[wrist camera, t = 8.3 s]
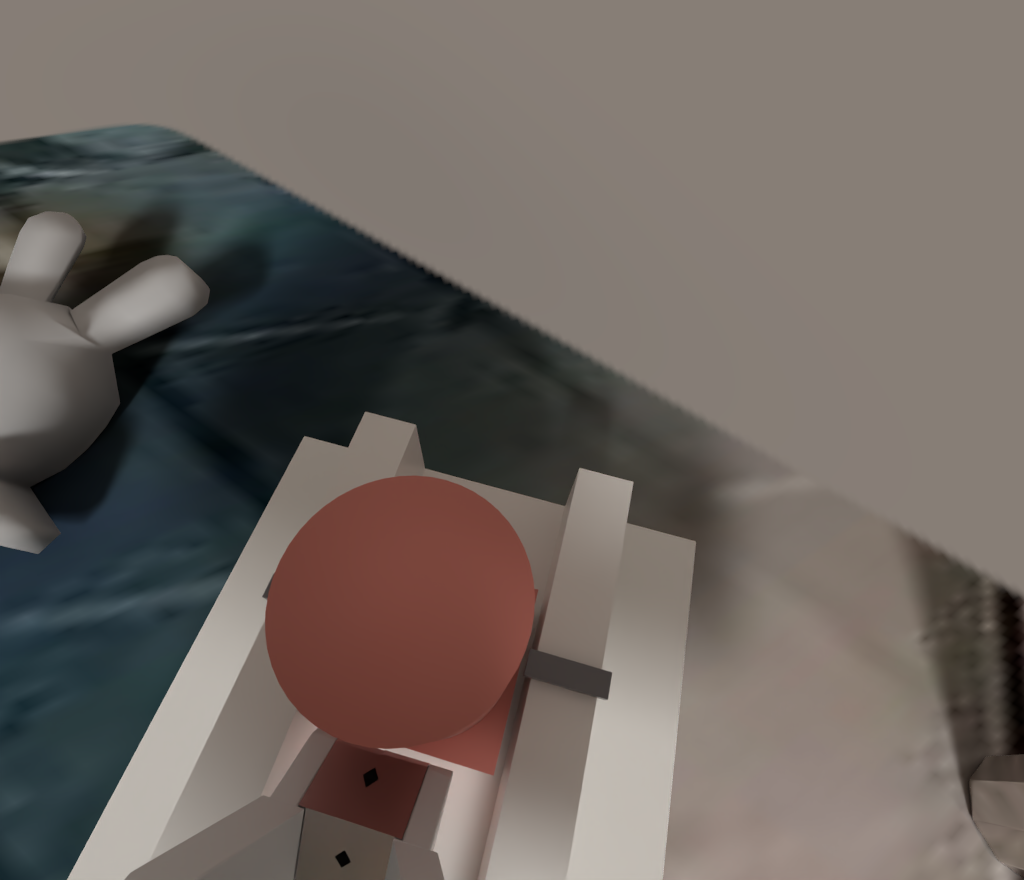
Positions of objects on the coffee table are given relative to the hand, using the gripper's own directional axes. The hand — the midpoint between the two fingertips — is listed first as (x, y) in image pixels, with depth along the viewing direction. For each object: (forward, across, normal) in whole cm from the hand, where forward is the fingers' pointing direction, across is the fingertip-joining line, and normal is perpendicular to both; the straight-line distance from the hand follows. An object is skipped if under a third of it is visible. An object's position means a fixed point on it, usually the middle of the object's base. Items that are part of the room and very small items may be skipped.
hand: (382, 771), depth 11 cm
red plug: (+4, 0, +1) cm, 4 cm away
